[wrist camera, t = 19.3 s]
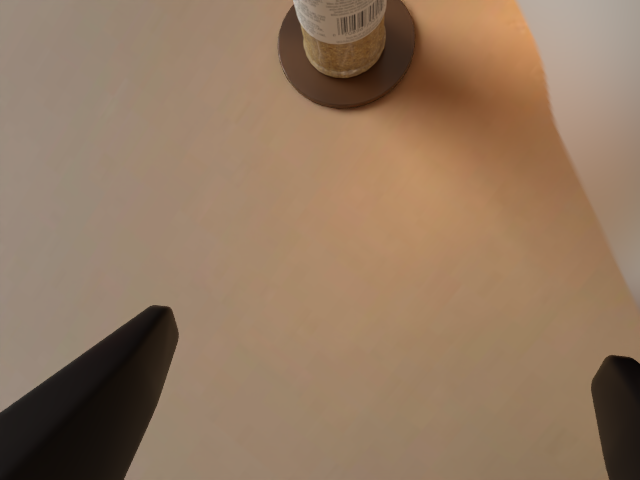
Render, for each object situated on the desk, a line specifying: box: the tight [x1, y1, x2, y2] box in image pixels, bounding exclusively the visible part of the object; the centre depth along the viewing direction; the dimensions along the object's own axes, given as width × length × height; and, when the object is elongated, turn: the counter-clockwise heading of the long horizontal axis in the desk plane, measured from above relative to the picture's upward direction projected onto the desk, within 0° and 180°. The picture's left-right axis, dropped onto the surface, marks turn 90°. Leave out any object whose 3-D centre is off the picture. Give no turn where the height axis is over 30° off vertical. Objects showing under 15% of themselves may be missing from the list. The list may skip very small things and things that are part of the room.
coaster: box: [278, 0, 415, 108], centre depth 25 cm, size 8×8×1 cm
